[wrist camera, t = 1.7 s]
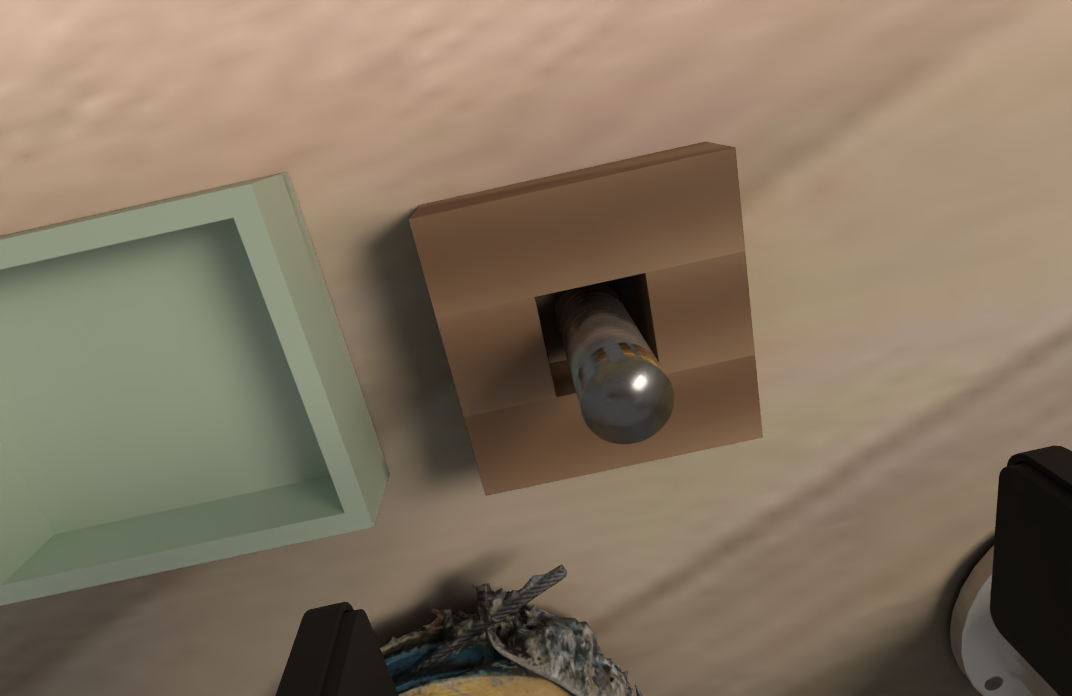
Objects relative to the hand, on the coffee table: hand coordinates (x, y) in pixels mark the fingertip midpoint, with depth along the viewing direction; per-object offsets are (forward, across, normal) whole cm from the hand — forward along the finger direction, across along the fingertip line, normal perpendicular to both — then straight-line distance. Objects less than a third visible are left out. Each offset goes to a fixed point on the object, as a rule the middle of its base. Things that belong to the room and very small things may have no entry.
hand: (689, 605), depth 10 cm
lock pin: (+16, -1, +1) cm, 16 cm away
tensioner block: (+15, -1, +1) cm, 15 cm away
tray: (+16, +15, 0) cm, 22 cm away
